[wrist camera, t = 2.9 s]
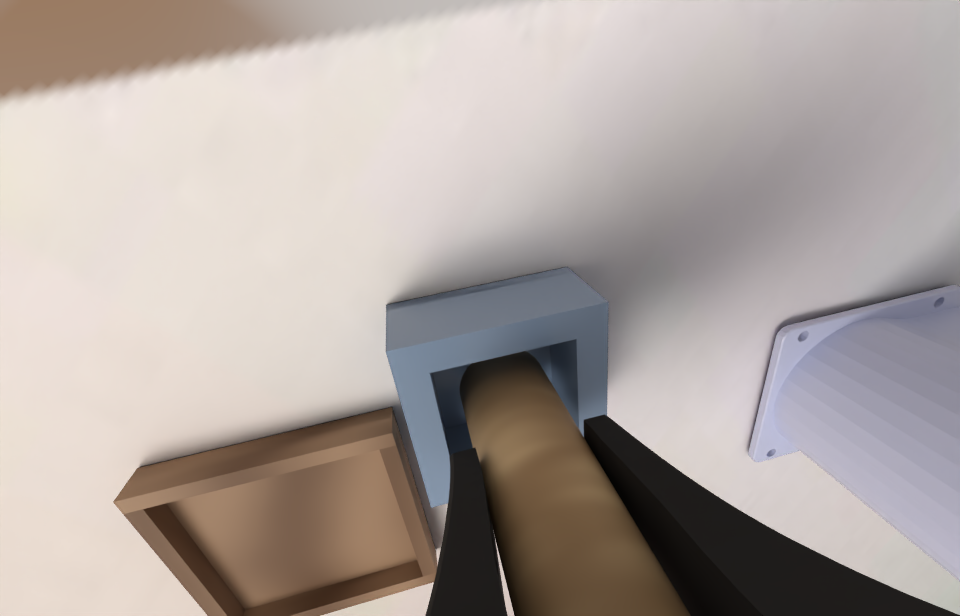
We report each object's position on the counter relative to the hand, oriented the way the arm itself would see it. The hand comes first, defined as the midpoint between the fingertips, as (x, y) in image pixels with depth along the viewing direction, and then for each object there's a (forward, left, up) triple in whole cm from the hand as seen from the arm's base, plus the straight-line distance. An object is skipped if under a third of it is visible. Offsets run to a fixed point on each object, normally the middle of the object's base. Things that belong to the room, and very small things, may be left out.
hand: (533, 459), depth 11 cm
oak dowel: (0, 0, -3) cm, 3 cm away
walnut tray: (+9, +5, -5) cm, 11 cm away
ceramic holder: (0, 0, -5) cm, 5 cm away
